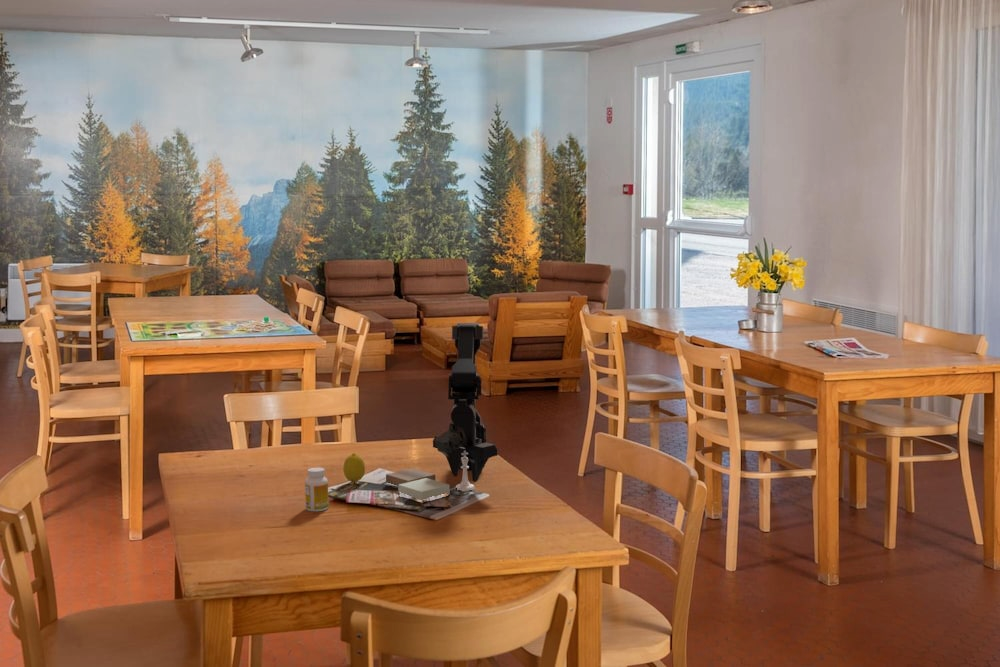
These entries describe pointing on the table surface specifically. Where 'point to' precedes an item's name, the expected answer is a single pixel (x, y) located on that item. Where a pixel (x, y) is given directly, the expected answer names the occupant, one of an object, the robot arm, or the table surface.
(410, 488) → the sage slab
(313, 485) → the supplement bottle
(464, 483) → the chess piece
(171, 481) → the table surface
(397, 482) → the walnut slab
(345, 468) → the lemon
